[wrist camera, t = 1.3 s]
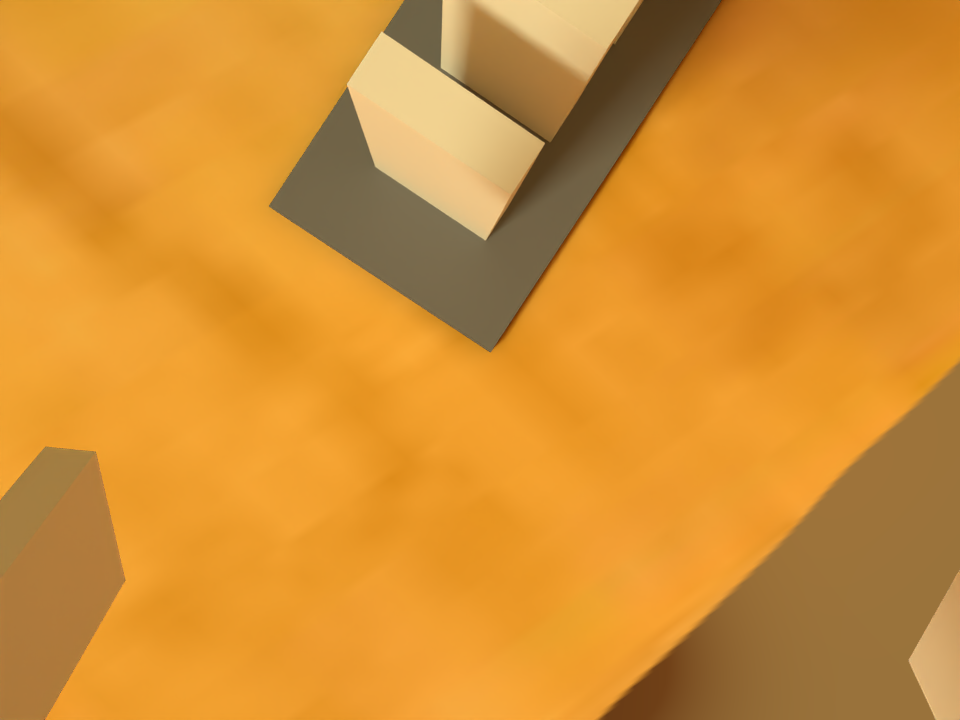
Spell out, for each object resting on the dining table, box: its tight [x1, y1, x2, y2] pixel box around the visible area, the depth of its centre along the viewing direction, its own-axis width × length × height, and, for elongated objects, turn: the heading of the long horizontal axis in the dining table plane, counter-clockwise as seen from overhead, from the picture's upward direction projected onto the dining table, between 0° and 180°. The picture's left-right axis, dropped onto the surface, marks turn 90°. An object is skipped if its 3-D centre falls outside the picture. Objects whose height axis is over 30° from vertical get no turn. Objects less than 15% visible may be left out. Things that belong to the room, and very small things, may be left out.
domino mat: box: [269, 0, 721, 352], centre depth 31 cm, size 22×10×1 cm, turn 147°
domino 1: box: [347, 32, 545, 241], centre depth 25 cm, size 2×5×10 cm, turn 57°
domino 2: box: [441, 0, 639, 142], centre depth 25 cm, size 2×5×10 cm, turn 56°
